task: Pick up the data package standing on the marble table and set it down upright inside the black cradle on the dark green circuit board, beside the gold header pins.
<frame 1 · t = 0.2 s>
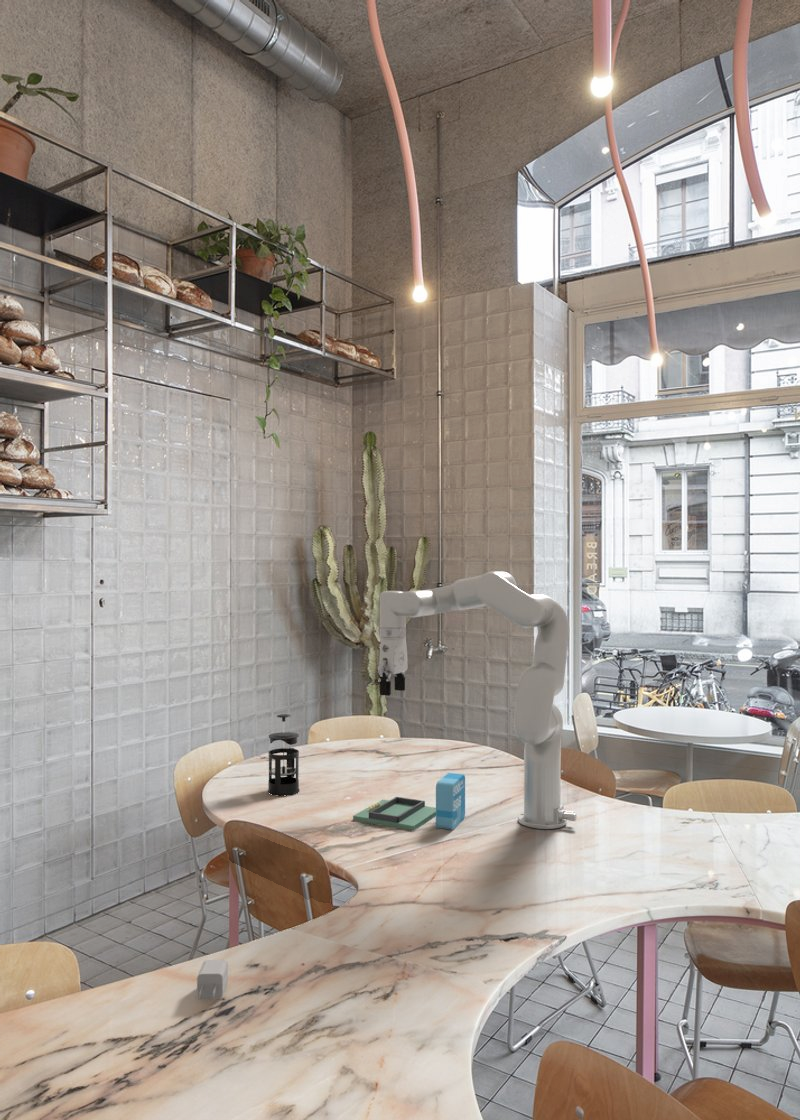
hand: (392, 692, 230), 31 cm above the table, tool pointing down, fingers open, 9 cm apart
data package: (450, 824, 209), on the table
french press: (284, 792, 238), on the table
circuit board: (397, 816, 214), on the table
usb wall charger: (211, 997, 125), on the table
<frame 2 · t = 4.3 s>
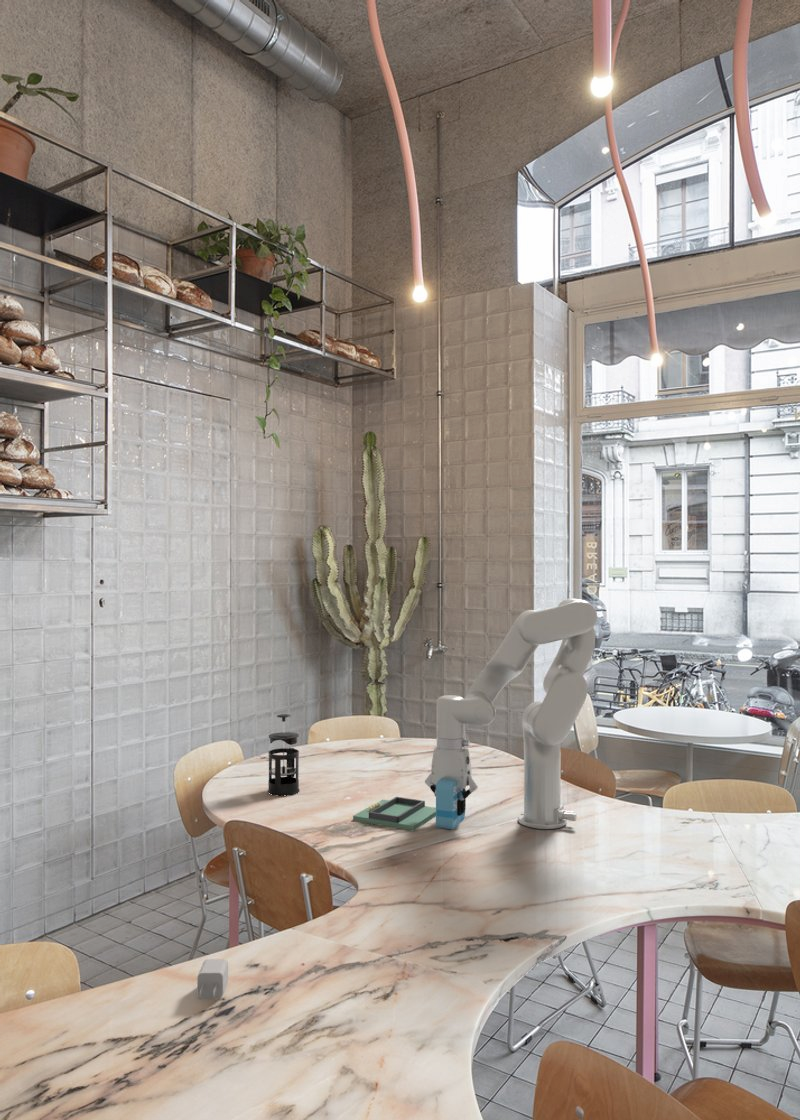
hand: (450, 812, 209), 3 cm above the table, tool pointing down, fingers closed on data package, 4 cm apart
data package: (450, 824, 209), on the table, touching gripper
everything else where it was.
when the fingers open (5 cm above the table, at t = 10.0 s): data package drops 1 cm, resting on circuit board.
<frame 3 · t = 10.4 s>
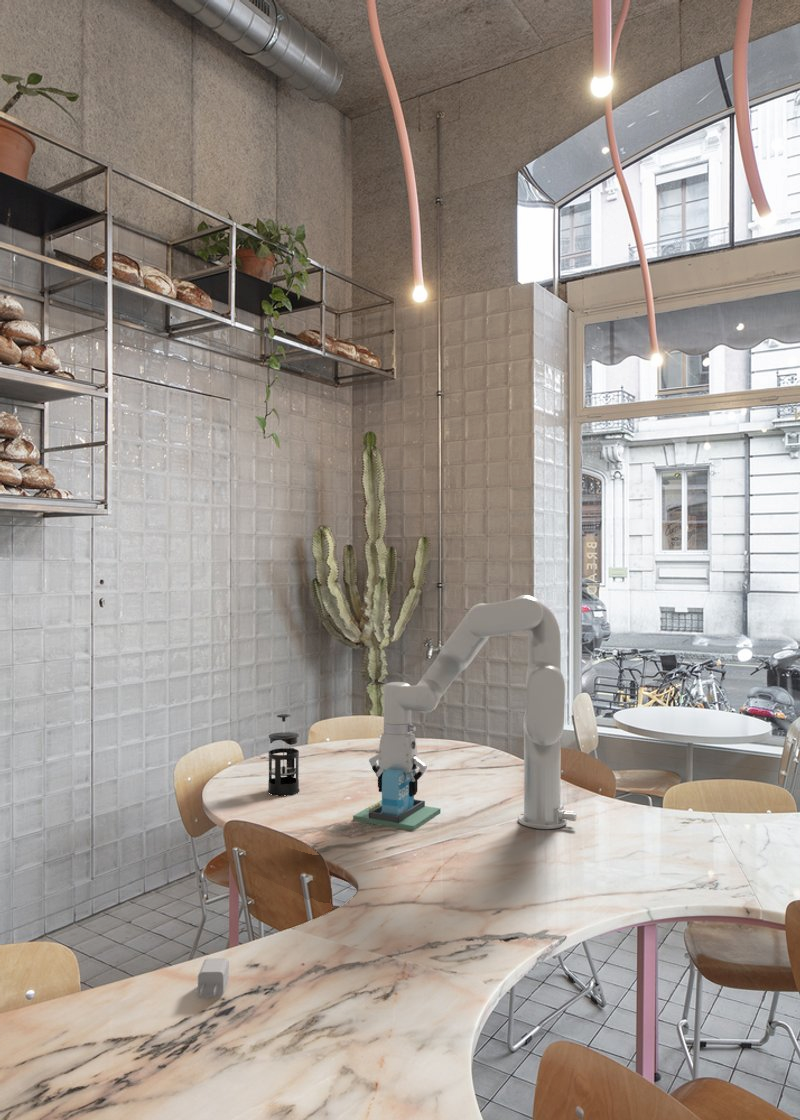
hand: (397, 792, 214), 6 cm above the table, tool pointing down, fingers open, 8 cm apart
data package: (398, 812, 214), point 1 cm above the table, touching circuit board
everything else where it was.
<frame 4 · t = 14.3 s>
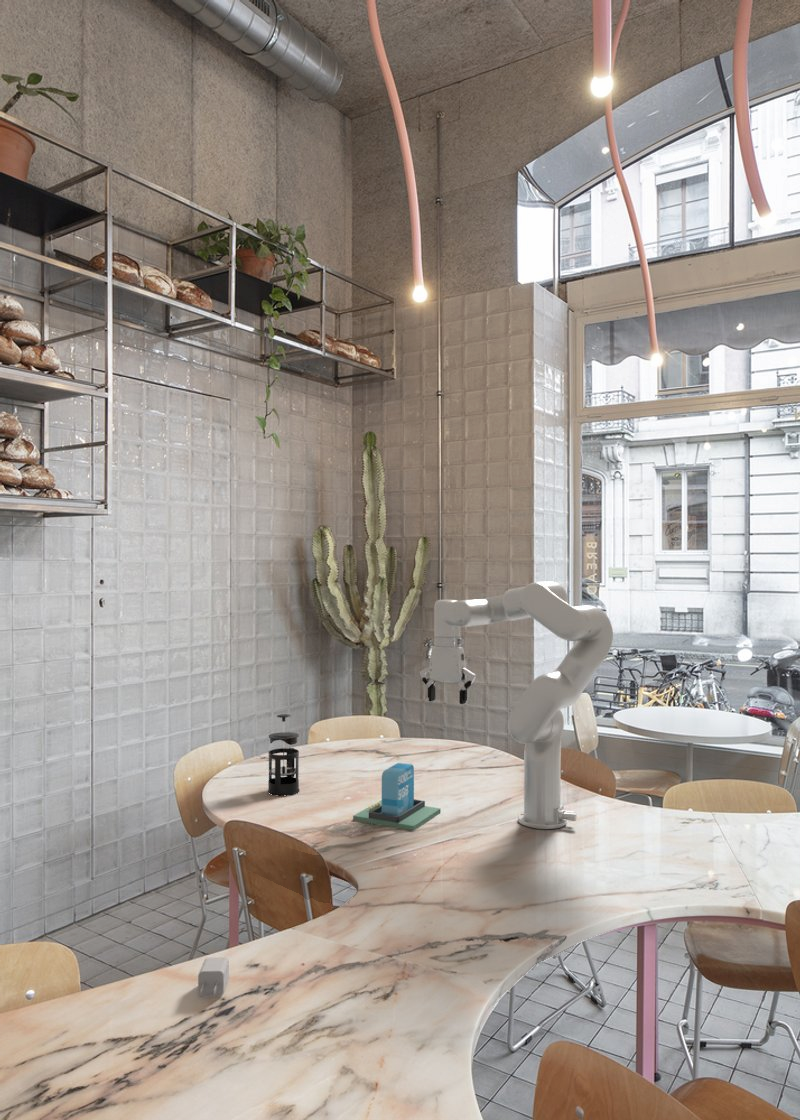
hand: (447, 702, 229), 28 cm above the table, tool pointing down, fingers open, 9 cm apart
nothing on the table moved.
at the end: data package 0.2 cm off-centre on the circuit board, point 1.0 cm above the circuit board's base; data package tilted 0°; the gripper is holding nothing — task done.
